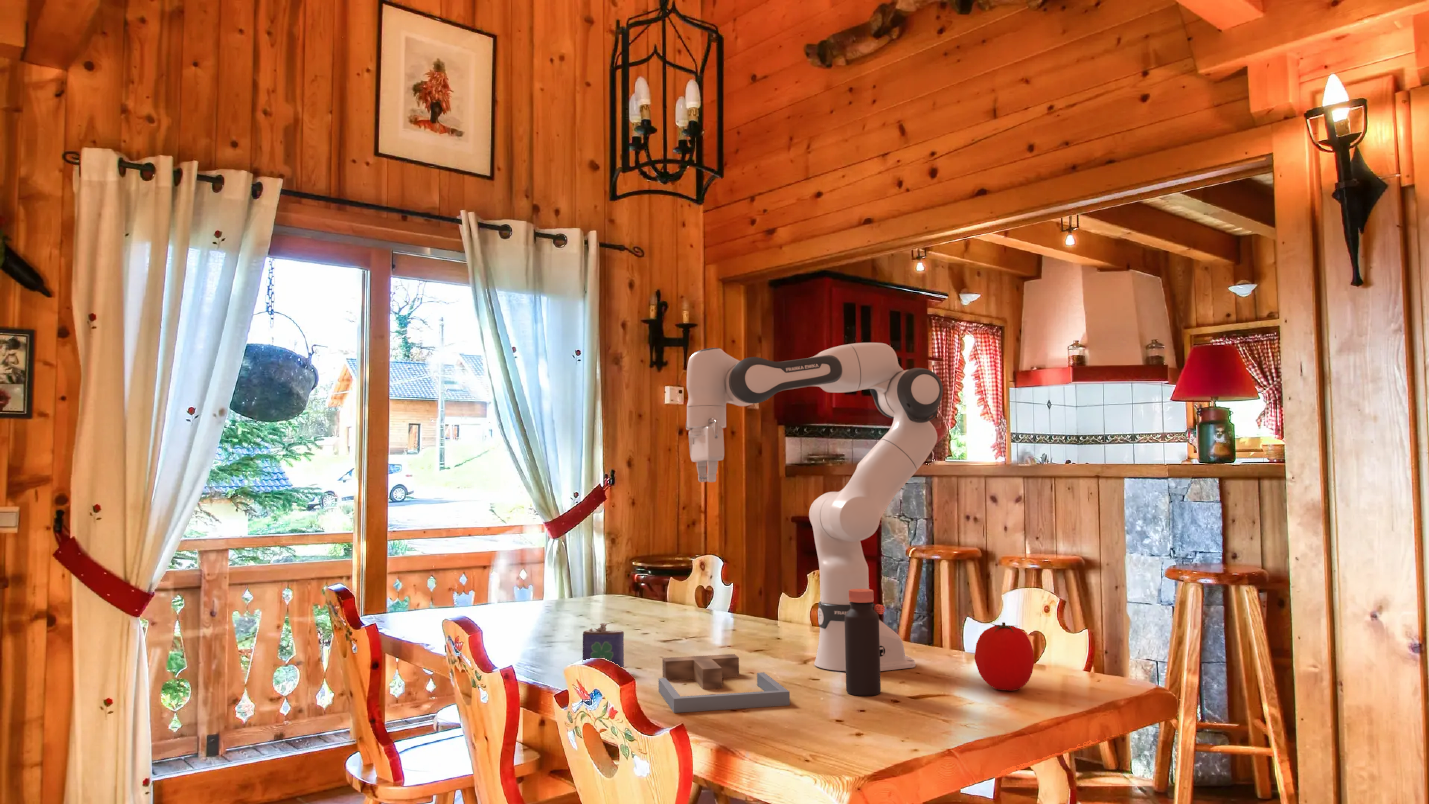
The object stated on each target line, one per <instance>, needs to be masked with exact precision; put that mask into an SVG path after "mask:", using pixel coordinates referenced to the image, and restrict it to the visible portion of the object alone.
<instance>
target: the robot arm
mask: <svg viewBox="0 0 1429 804" xmlns="http://www.w3.org/2000/svg"><path fill="white" fill-rule="evenodd" d="M898 360H899V358H898V356H897V353H896V351H895V349H893V347H891V346H890V345H888V344H887V343H883V342H855V343H848V344H842V345H838V346H833V347H830V348H828V349H824V350H822V351H820V352H818V353H817V354H815V355H814V356H811V357H808V358H807V357H806V358H799V359H798V358H797V359H792V360H784V361H774V360H770V359H766V358H764V357H763V358H762V357H758V356H750V357H746V358H744V359H741V360H739V359H737V358H734V356H731V355H730V354H728V353H726V352H725V351H724V350H723V349H722V348H719V347H709V348H704V349H700V350H697V351H695V352H694V353H692V354H691V356H689V358H688V361H687V368H686V390H687V395H688V398H687V399H688V400H687V404H686V422H685V429H686V431H688V443H689V445H688V448H689V456H690V460H691V462H692V463H696V472H697V474H698V475H697V478H698V482H699V483H706V482H708V483H715V482H716V481H717V474H718V468H719V467H718V466H719V461H723V460H724V458H725V440H724V439H725V438H724V429H725V428H727V404H730V405H734V406H738V407H747V406H751V405H754V404H760V403H762V402H765V401H767V400H769V399H770V398H772V397H773V396H775V395H776V394H777V393H779V392H782V391H787V390H794V389H801V388H807V387H817V388H818V387H819V388H820V389H822V391H824V392H826V393H837V394H839V393H852V392H857V391H862V390H869V392H870V394H871V396H872V398H873V401H874V405H875V406H876V408H877V410H878V412H880V413H881V414H882V416H885V417H887V418H890V419H893V420H892V424H891V427H890V428H888V429H889V430H888V431H887V432H886V433H885V434H884V435H883V436H882V438H880V439H879V440H878V441H877V443H876V444H875V445H874V446H873V447H872V448H871V449H870V450H869V451H868V452H867V453H866V454H865V456H864V457H862V459H861V460H860V461H859V462H858V463H857V465H856V468H855V471H854V472H853V474H852V476H851V478H850V479H849V481H848V482H847V484H846V485H845V486H844V487H843V488H842V489H841V490H839V491H828V492H825V493H823V494H822V495H819V496H818V497H817V498H816V499H815V500H813V502H812V503H811V505H810V507H809V512H808V518H809V519H808V520H809V521H810V524H811V526H812V531H813V538H814V544H815V549H816V554H817V559H818V560H817V561H818V567H819V598H820V599H819V602H818V609H817V618H818V619H817V620H818V626H819V635H818V644H817V645H818V646H817V650H816V657H815V660H814V662H813V664H814V666H816V667H817V668H820V669H825V670H828V671H829V670H830V671H839V672H840V671H841V672H846V661H845V615H846V613H847V612H848V611H849V610H850V609H851V604H849V602H850V601H849V590H851V589H870V586H869V585H870V583H869V578H870V577H869V566H868V563H867V561H866V558H865V555H864V551H863V547H862V543H861V541H864V540H867V539H868V538H870V537H871V536H873V535H874V534H875V533H876V531H877V530H878V528H879V527H880V526H879V525H880V523H881V522H880V521H881V519H882V517H883V515H884V514H885V512H886V510H887V508H888V507H889V505H890V504H891V502H892V501H893V499H894V497H895V496H896V495H897V493H899V491H900V490H901V489H902V488H903V487H904V486H905V485H906V484H907V482H909V480H910V479H911V478H912V477H913V476H914V475H915V473H916V472H917V471H918V470H919V469H920V467H921V466H922V465H924V463H925V461H926V459H928V457H929V456H930V454H931V452H932V451H933V450H934V448H935V446H936V444H937V443H938V432H937V430H936V427H935V426H934V425H933V424H932V422H931V421H933V420H934V419H935V418H936V417H937V414H938V409H939V406H940V403H941V401H942V398H943V396H944V395H943V393H944V386H943V382H942V380H941V378H940V377H939V375H937V374H936V373H935V372H934V371H932V370H930V369H928V368H923V367H913V368H910V369H905V370H904V368H902V367H901V366H900V364H899V361H898ZM872 609H873V610H874V611H875V612H876V613H877V614H878V615H883V614H884V612H885V611H886V607H885V606H884V605H883V604H879V603H877V604H876V603H874V604H872ZM879 640H880V672H883V671H891V670H892V671H894V670H901V669H911V668H912V669H913V668H915V667H916V661H915V660H914V659H913V658H912V657H909V656H907V655H906V652H905V647H904V646H905V645H904V643H903V640H902V638H901V636H900V635H899V634H898V633H897V632H895V631H894V630H893V629H892V628H891V627H889V626H888V625H886V623H884V622H883V621H882V620H881V619H879Z"/></svg>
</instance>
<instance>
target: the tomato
mask: <svg viewBox="0 0 1429 804" xmlns="http://www.w3.org/2000/svg"><path fill="white" fill-rule="evenodd" d="M987 623H989V624H991V625H993V626H990V627H989V628H987V629H985V630H984V631H983V632H982V633H981V634H980V635H979V637H978V639H977V640H976V641H977V642H976V644H975V650H974V662H975V665H976V668H977V671H978V674H979V675H980V677H981V679H982V680H983V681H984V682H985V683H986V684H988V685H989V686H990V687H992V688H994V689H995V690H1002V691H1009V692H1013V691H1016V690H1019V689H1021V688H1023V687H1024V686H1025V685H1026V684H1027V683H1028V682H1029V680H1030V679H1031V677H1032V674H1033V670H1034V666H1035V665H1034V664H1035V657H1034V655H1035V654H1034V649H1033V646H1032V643H1031V640H1030V639H1029V637H1028V635H1027V634H1026V633H1025V632H1024V631H1023V630H1022V629H1021V628H1020V627H1019V628H1018V627H1017V626H1015V625H1006V622H1005V621H1003V622H1001V624H994V623H993V622H990V621H987Z"/></svg>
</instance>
